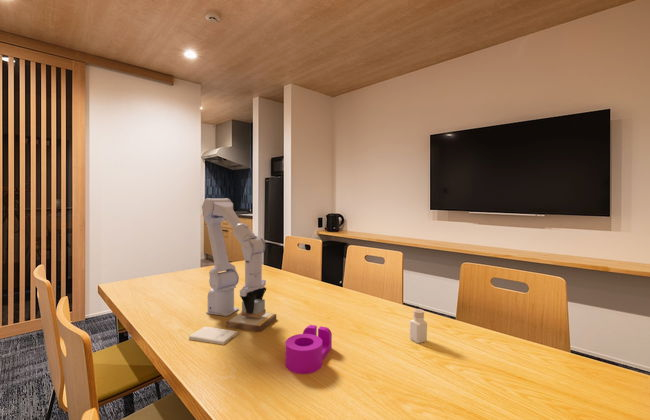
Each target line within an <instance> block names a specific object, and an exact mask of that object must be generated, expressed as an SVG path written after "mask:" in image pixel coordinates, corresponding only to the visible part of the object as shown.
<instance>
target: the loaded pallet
mask: <svg viewBox="0 0 650 420" xmlns="http://www.w3.org/2000/svg"><path fill="white" fill-rule="evenodd" d="M265 305H266V300H265V299H263V298H262V299H256V298H255V302H254V309H253V313H252V314H249V313H247V312H246V309H245V305H244V302H243V300H242V302H241V312H240V313H241V316H247V317H255V318H260V317H261V316H263V315H264V314H265V313H267V312H266V311H267V310H266V308H265V307H266V306H265Z"/></svg>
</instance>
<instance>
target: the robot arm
mask: <svg viewBox="0 0 650 420" xmlns="http://www.w3.org/2000/svg"><path fill="white" fill-rule="evenodd" d="M201 209H202V215H203V220H204V222H205V224H206V229H207V234H208V238H209V243H210V247H211V248H210V249H211V253H212V254H211V255H212V258H213V263H214V265H213V266H212V268H211V269H210V270H209V273H208V274H209V279H208V280H209V281H208V283H209V286H210V289H209V291H208V293H207V311H206V314H209V315H217V316H223V317H224V316H225V317H229V315H231V314H233V313H235V312H236V311H238V310H239V309H240V308H239V307H236V306H235V289H236V288H237V287H236V286H237V285H238V283H239V279H240V276H239V273H238V271H237V269H236V266H235V265H234V264H232V263H231V262H230V261H229V256H228V253H227V248H226V244H225V243H226V242H225V238H224V233H223V228H222V223H223V221H226V222H227V223H228V224H229V225H230V227H232V233H233V235H234V237H235V238H236V239H237V241H238V242H239V244H241V247H240V249H241V252H242V254H243V260H244V285H243V287H242V288H241V289H240V290H239V297H240V298H241V300H242V301H243V302H244V305H245V309H246V312H247V313H249V314H252V313H253V309H254V302H255V298H256V299H263V298H264V295H265V293H266V291H267V287H265V286H266V282H267V280H266V279H262V278H263V272H262V271H263V270H262V269H263V267H262V266H263V265H262V263H263V261H262V260H263V259H262V258H263V256H262V255H263V253H265V251H266V242H265V241H264V238H262V237H258V236H257V235H256V234H255V233H254V231H252V229H251V228H250V227H249V225H248V224H247V223H243V222H242V221H241V219H240V218H239V216H238V215H237V213H236V211H234V203H233V202H232V200H231V199H230V198H228V197H225V198H210V197H209V198H208V197H207V198H205V199H204V200H203V202H202V206H201Z"/></svg>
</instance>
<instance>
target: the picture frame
mask: <svg viewBox="0 0 650 420" xmlns="http://www.w3.org/2000/svg"><path fill="white" fill-rule="evenodd" d="M276 319H277V314H276V313H270V312H266V313H265V314H264V315H263V316H261V317H260V318H255V317H247V316H241V312H239V314H237V315H235V316H233V317H232V318H230V319H229V320H227V321H226V324H225V326H226V328H232V329H239V330H245V331H251V332H252V331H253V332H259V333H261V332H262V331H263V330H265V329H266V328H267V327H268V326H269V325H271V324H272V323H273V322H274V321H276Z"/></svg>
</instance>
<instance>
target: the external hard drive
mask: <svg viewBox="0 0 650 420" xmlns="http://www.w3.org/2000/svg"><path fill="white" fill-rule="evenodd" d="M238 334H239V331H238V330H237V331H236V330H230V329H226V328H224V329H222V328H218V327H211V326H203V327H202V328H200V329H198V330H197V331H195V332H193V333H192V334H190V335H189V336H188V340H191V341H197V342H204V343H208V344H209V343H211V344H217V345H222V346H224V345H225V344H227V343H228V342H229V341H230V340H231V339H233V338H234V337H236V336H237V335H238Z"/></svg>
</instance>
